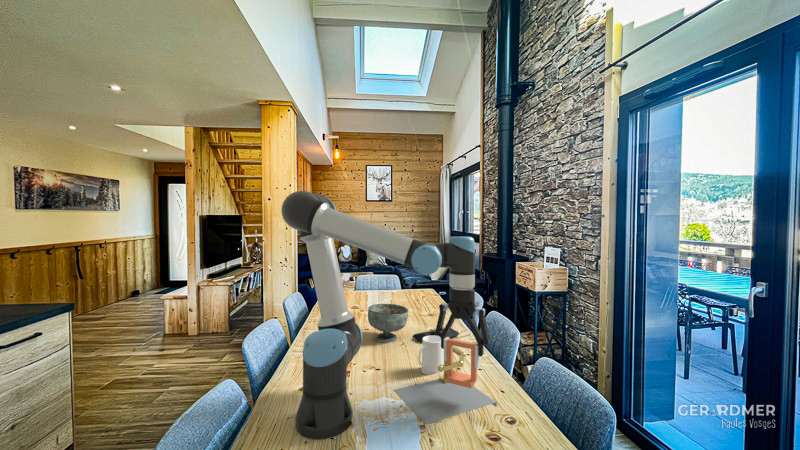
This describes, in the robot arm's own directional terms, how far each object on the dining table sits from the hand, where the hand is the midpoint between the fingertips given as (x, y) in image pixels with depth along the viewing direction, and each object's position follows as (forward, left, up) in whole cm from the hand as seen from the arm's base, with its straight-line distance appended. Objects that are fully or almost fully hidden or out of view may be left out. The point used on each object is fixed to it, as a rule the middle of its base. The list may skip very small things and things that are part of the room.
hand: (461, 362), depth 97 cm
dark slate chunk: (+27, +54, -13) cm, 62 cm away
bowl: (+4, +62, -13) cm, 64 cm away
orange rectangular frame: (0, 0, -6) cm, 6 cm away
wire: (-2, +6, -12) cm, 13 cm away
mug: (+3, +23, -13) cm, 27 cm away
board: (-3, +5, -13) cm, 14 cm away
